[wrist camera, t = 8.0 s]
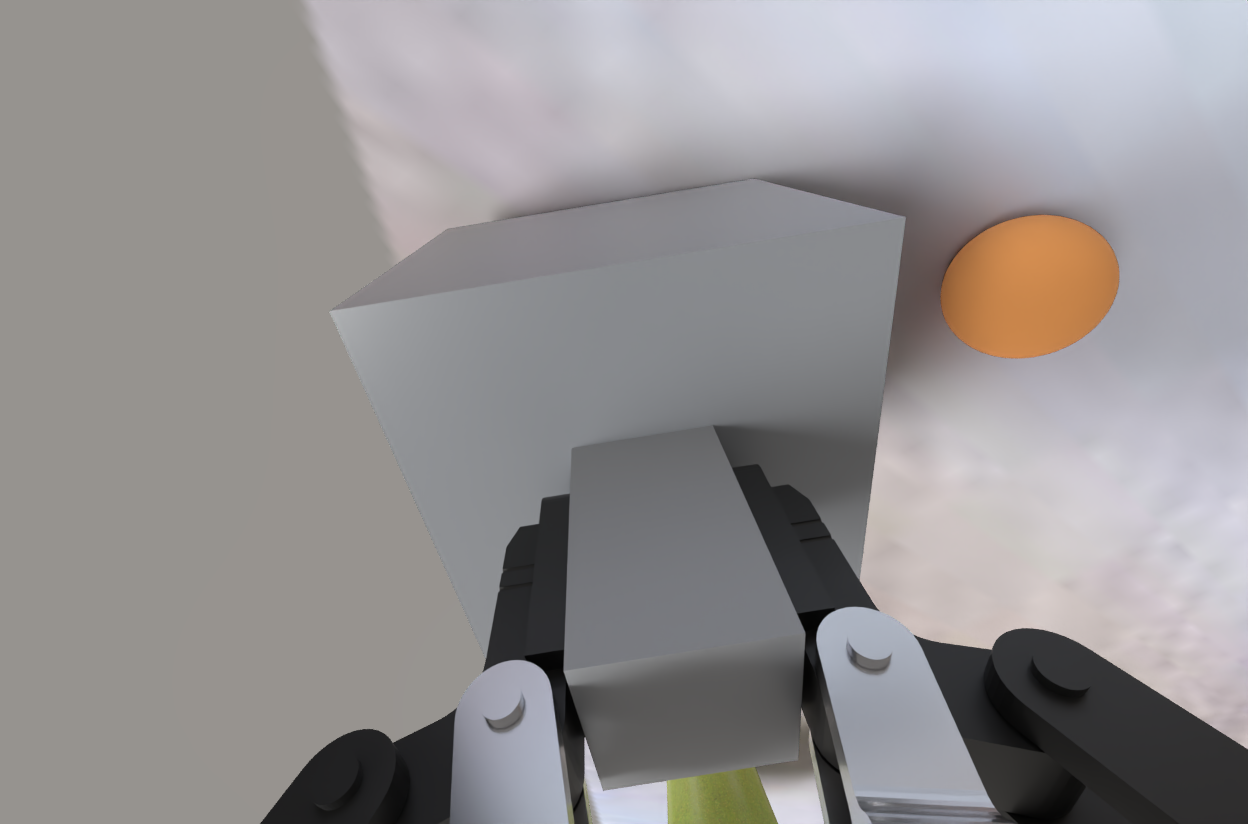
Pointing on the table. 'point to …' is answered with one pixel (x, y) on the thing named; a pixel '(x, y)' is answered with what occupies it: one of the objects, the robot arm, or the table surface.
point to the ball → (1029, 286)
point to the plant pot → (719, 799)
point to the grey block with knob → (644, 438)
